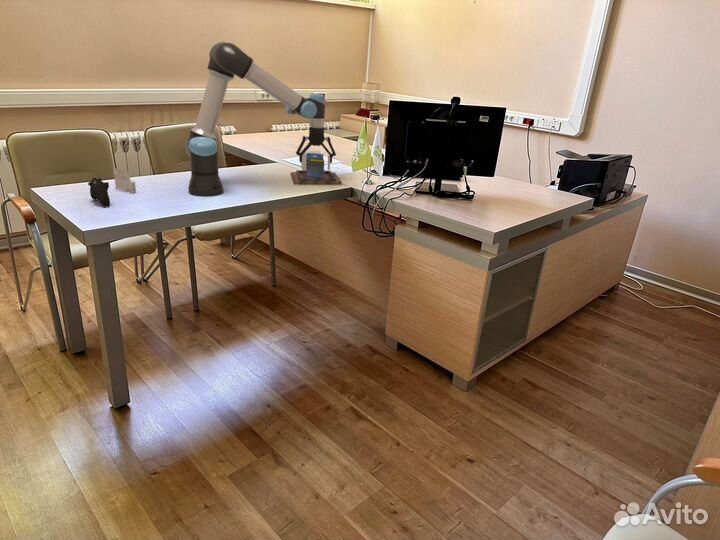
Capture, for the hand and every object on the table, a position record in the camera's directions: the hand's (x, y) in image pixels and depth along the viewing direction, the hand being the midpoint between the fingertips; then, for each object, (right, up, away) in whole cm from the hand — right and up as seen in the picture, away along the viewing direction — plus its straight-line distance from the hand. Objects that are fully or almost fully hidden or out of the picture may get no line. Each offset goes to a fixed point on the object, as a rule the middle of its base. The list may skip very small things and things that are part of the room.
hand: (315, 169), depth 260 cm
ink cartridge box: (-80, -17, -38) cm, 90 cm away
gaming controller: (-82, -25, -56) cm, 103 cm away
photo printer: (-4, +2, +18) cm, 19 cm away
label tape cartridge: (0, -4, +2) cm, 4 cm away
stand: (0, -5, +2) cm, 6 cm away
